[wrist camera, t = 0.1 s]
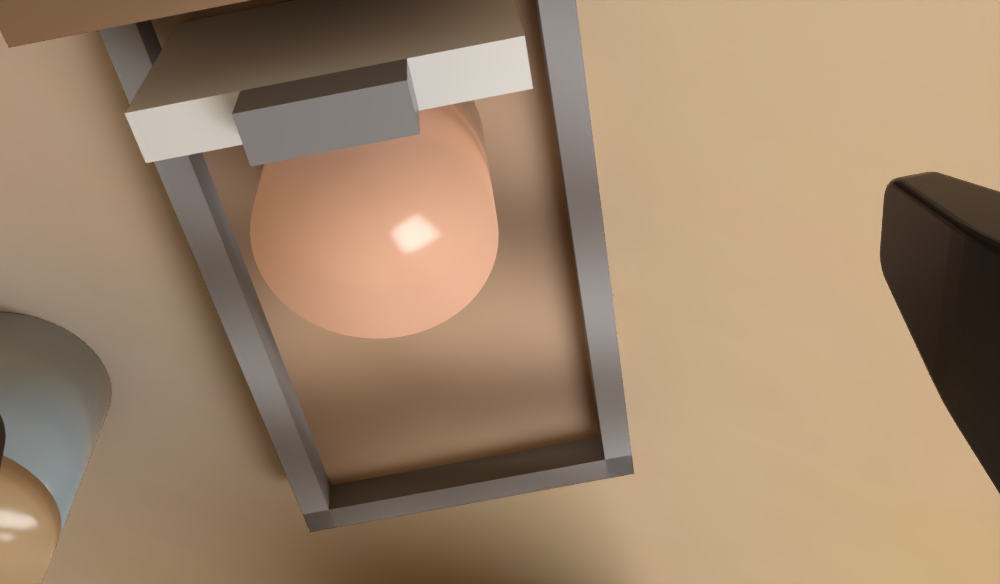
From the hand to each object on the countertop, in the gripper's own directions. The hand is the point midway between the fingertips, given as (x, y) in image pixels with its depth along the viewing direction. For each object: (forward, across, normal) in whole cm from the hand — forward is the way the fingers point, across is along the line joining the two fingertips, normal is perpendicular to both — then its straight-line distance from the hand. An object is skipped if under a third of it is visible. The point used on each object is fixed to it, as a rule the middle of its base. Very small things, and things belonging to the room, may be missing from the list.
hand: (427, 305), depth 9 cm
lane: (+15, +2, +7) cm, 16 cm away
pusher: (+13, +2, +1) cm, 14 cm away
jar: (+14, +2, +4) cm, 14 cm away
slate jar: (+15, +14, +10) cm, 23 cm away
